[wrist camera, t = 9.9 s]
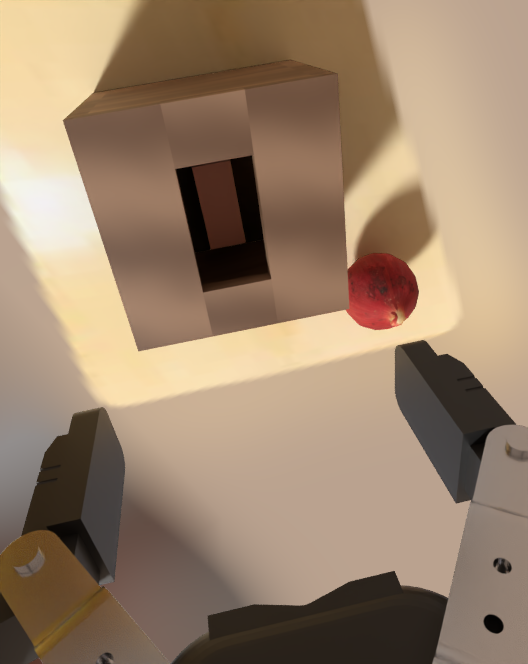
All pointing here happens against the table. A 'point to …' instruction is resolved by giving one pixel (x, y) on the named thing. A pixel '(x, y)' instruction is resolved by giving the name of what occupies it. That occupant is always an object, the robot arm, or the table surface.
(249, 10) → the table surface
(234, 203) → the tall salmon pink box
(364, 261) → the red pomegranate
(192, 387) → the table surface
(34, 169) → the table surface
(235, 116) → the box
